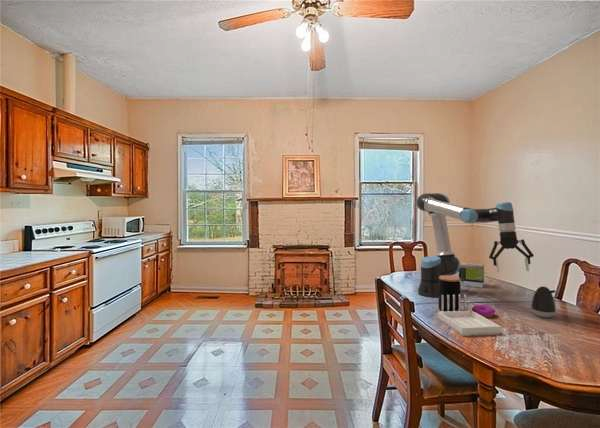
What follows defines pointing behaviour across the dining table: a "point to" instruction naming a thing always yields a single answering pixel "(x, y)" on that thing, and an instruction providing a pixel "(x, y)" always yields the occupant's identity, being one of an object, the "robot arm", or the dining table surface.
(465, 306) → the rack tines
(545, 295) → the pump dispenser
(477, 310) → the donut
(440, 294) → the coffee jar
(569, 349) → the dining table surface
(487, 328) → the tray
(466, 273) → the tea box
